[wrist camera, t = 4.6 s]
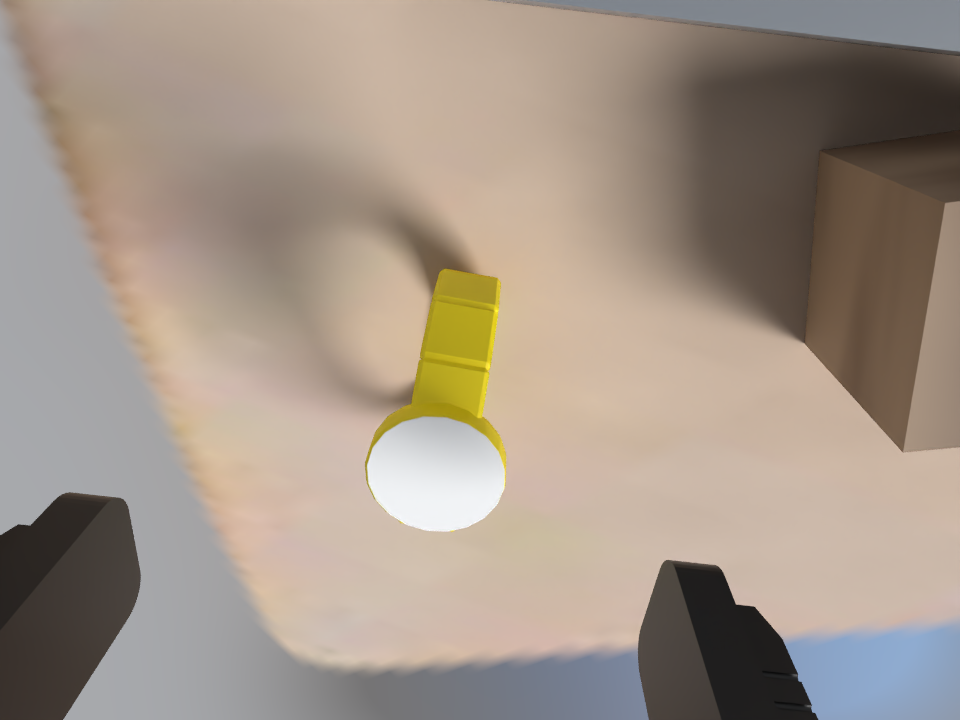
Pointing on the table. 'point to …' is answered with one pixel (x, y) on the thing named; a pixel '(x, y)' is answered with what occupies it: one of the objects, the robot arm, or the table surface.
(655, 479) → the table surface
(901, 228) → the walnut block
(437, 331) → the watch
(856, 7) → the slate tray
